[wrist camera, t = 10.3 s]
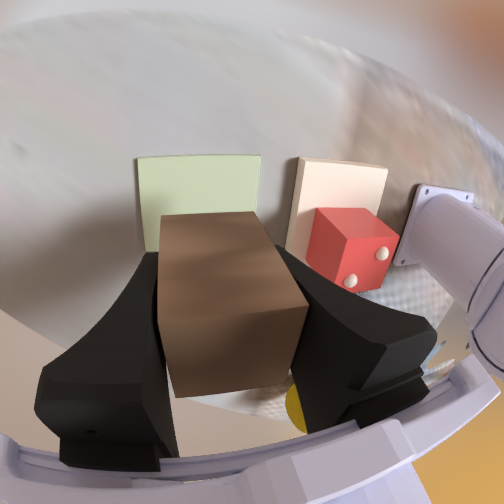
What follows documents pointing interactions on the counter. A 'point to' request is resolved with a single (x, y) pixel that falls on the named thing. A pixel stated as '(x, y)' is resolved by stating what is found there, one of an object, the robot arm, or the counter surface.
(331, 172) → the game board
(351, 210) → the die
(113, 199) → the counter surface
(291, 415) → the lemon
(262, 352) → the brown block
